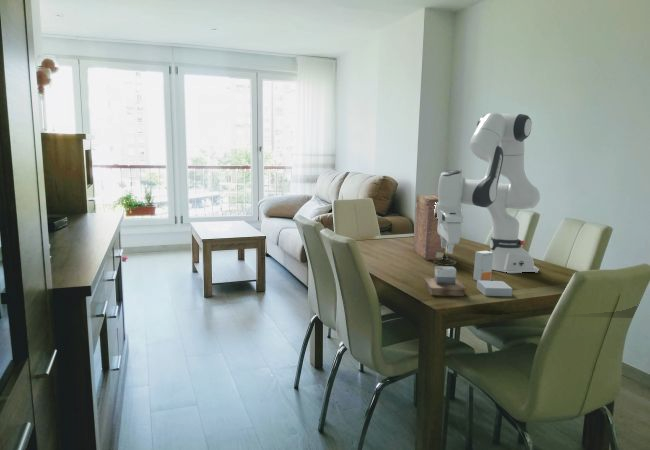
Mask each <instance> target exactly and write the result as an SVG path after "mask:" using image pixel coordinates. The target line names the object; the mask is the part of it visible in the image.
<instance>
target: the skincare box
mask: <svg viewBox="0 0 650 450" xmlns="http://www.w3.org/2000/svg"><path fill="white" fill-rule="evenodd" d="M474 255H475V256H474V265H473V266H474V268H473V277H472V278H473V280H474V281H477V280H479V281H492V271H493V270H492V262H493V253H492V252H490V251H489V250H480V251H478V250H477V251H475V254H474Z"/></svg>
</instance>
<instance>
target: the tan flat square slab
mask: <svg viewBox="0 0 650 450" xmlns="http://www.w3.org/2000/svg"><path fill="white" fill-rule="evenodd" d="M423 280H424V281H425V282H424V283H425V284H424V286H425V288H426V290H427V291H428V292H429V293H430V295H431V296H453V297H455V296H456V297H464V296H465V291H467V288H466V286H464V285H463V283H462V282H460V280H459V279H457V278H456V283H455V285H437V284H436V283H435V282H434V277H432V278H431V277H430V278H429V277H424V278H423Z"/></svg>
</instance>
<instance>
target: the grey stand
mask: <svg viewBox="0 0 650 450" xmlns="http://www.w3.org/2000/svg"><path fill="white" fill-rule="evenodd" d="M476 289H477V290H479V292H480V293H482V295H484V296H487V297H488V296H489V297H513V287H511V286H510V285H509V284H507V283H506V282H505V281H503V280H490V281H479V280H476Z"/></svg>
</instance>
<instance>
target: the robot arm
mask: <svg viewBox="0 0 650 450" xmlns="http://www.w3.org/2000/svg"><path fill="white" fill-rule="evenodd" d="M476 123H477V124H476V128H475V130H474V131H473V134H472V136H471V138H470V142H469V147H470V150H471V152H472V154H474V156H476V157H477V158H478V159H480V160H482V161H485V162H487V163H488V164H487V167H486V172H485V175H484V177H483V178H481V179H474V178H472V179H471V178H466V177H465V176H463V173H462V171H461V170H457V169H450V170H449V169H448V170H444V171H442V172H441V173H440V176H439V179H438V185H437V186H438V187H437V196H438V199H439V200H438V204H437V217H436V218H437V219H438V226H437V232H438V234H439V235H440V236H441V247H442V248H445V249H446V248H447V249H446V253H448V254H450V255H451V254H453V253H454V248H455V244H456V245H458V244H459V243H460V240H461V232H462V223H464V216H463V213H462V212H463V211H462V204H463V205H467V206H468V205H470V206H476V207H480V208H486V209H487V211H488V212H489V213H490V216H491V219H492V234H491V238H490V244H489V245H490V251H489V252H492V253H493V262H492V271H493V270H494V271H498V272H504V273H506V272H507V274H523V273H522V272H535V273H539V272H538V271H540V269H539V268H538V267H537V266H535V262H534V258H533V256H532V255H531V254H530V253H529V252H528V251H526V250H525V249H524V248H523V247H522V246H526V244H527V242H526V241H525V240H521V239H519V233H520V232H519V230H520V223H519V221H518V219H517V218H516V217H514V216H513V215H511V214H509V213H508V211H507V209H516V210H526V209H528V210H529V209H534V208H535V207H536V206H537V205H538V204H539V202H540V199H541V196H540V195H541V194H540V190H539V189H538V188H537V186H535V185H534V184H532V182H531V181H530V180H529V179H528V177H527V175H526V173H525V140H526V139H528V137H529V136H530V134H531V131H532V127H533V126H532V125H533V124H532V119H531V118H530V116H529V115H527V114H523V113H507V112H506V113H499V112H489V113H486V114H485V115H484V114H483V115H482V116H481V117H480V118H479V119H478V121H477V122H476ZM501 176H502V177H505V178H506V179H507V180H508V181H509V183H500V182H499V181H500V180H499V179H500V177H501Z"/></svg>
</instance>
